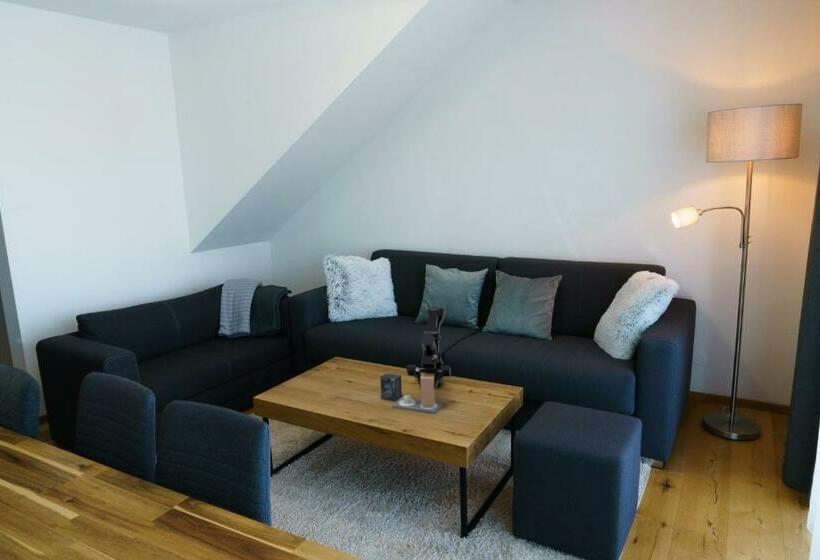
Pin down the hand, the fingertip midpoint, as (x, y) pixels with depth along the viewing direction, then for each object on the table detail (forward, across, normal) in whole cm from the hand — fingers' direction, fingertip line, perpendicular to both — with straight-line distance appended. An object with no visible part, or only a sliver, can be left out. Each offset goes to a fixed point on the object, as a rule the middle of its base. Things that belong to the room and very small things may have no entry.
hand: (427, 389), depth 248 cm
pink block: (+4, 0, +6) cm, 7 cm away
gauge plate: (+5, -5, +8) cm, 11 cm away
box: (-1, -18, +14) cm, 23 cm away
